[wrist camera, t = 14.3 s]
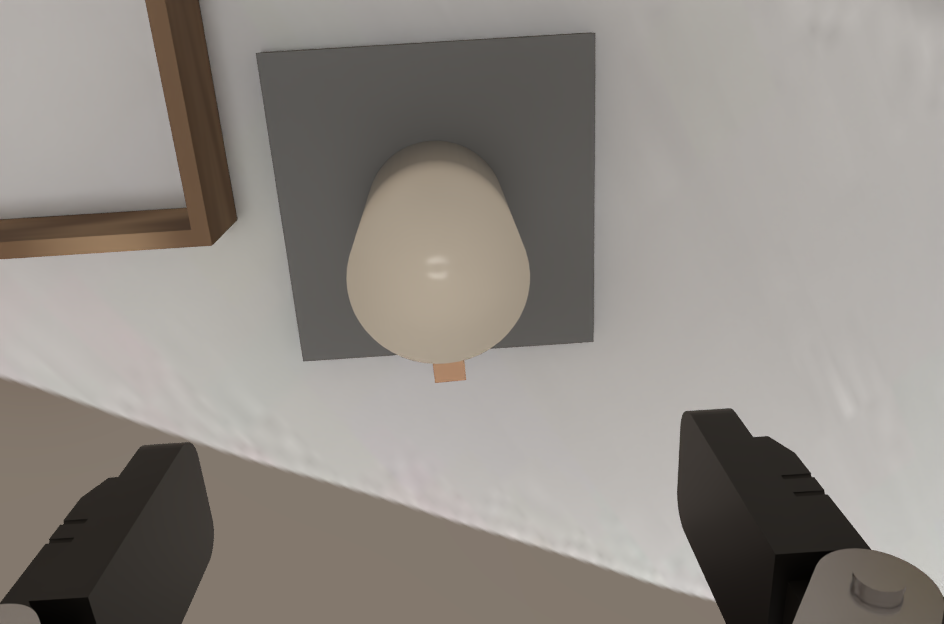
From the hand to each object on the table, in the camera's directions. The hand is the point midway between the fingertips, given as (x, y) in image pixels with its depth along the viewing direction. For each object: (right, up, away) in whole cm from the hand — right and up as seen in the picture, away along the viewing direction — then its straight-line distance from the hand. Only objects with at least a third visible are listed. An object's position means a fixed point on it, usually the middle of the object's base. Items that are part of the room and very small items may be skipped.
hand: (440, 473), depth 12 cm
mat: (-1, +7, +17) cm, 18 cm away
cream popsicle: (-1, +7, +16) cm, 18 cm away
